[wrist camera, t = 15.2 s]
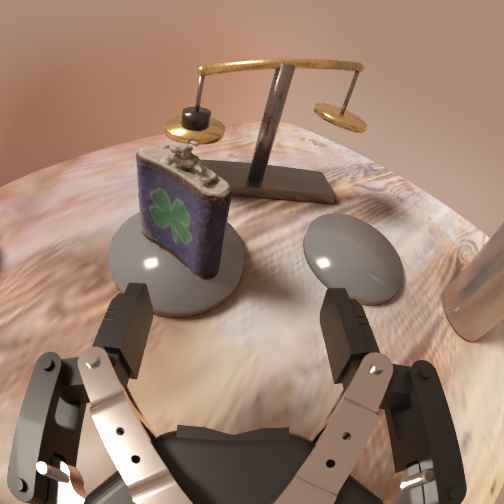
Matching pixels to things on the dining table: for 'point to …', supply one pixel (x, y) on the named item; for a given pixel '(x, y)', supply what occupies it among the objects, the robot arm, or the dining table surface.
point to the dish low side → (173, 272)
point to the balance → (266, 133)
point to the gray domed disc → (353, 258)
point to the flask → (183, 206)
